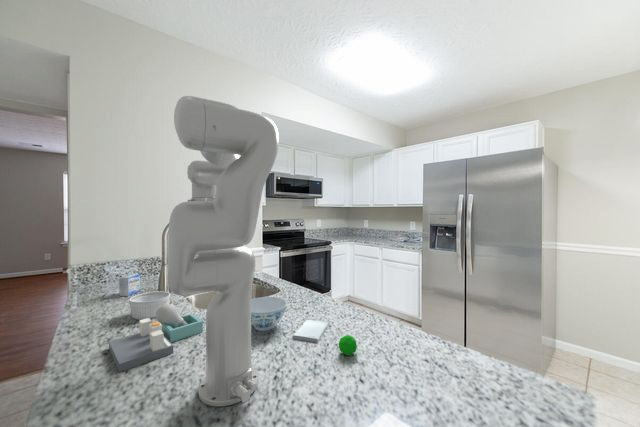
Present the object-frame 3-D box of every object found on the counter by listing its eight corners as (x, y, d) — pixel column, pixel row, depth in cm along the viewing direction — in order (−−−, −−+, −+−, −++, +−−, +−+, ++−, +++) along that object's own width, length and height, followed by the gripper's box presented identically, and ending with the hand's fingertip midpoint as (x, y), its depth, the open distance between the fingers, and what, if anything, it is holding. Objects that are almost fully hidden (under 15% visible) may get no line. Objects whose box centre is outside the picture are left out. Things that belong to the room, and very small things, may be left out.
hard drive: (317, 339, 77) (328, 322, 89) (292, 335, 80) (306, 319, 92) (317, 344, 77) (328, 326, 89) (292, 340, 80) (306, 323, 92)
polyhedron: (353, 348, 74) (353, 331, 74) (359, 357, 69) (359, 340, 69) (336, 349, 73) (336, 333, 73) (341, 359, 68) (341, 341, 68)
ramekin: (173, 306, 108) (173, 289, 108) (165, 318, 95) (165, 299, 95) (136, 310, 103) (136, 292, 103) (122, 323, 91) (122, 304, 91)
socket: (202, 331, 84) (202, 321, 84) (170, 342, 77) (170, 330, 77) (191, 323, 91) (191, 313, 91) (161, 332, 84) (160, 321, 84)
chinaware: (254, 315, 97) (254, 295, 97) (292, 319, 94) (292, 298, 94) (233, 334, 83) (232, 310, 83) (277, 339, 79) (277, 314, 79)
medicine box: (128, 296, 120) (128, 277, 120) (118, 296, 120) (118, 277, 120) (140, 291, 128) (140, 273, 128) (131, 291, 128) (131, 273, 128)
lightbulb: (186, 329, 81) (157, 308, 79) (176, 340, 83) (147, 319, 81) (196, 316, 87) (169, 296, 85) (186, 327, 89) (159, 307, 87)
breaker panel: (173, 352, 72) (173, 331, 72) (119, 372, 63) (119, 347, 63) (156, 334, 83) (156, 315, 83) (108, 348, 74) (108, 327, 74)
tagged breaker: (162, 338, 76) (161, 323, 76) (152, 341, 74) (152, 326, 74) (159, 335, 78) (158, 320, 78) (149, 338, 76) (149, 323, 76)
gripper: (181, 202, 77) (181, 260, 76) (234, 203, 90) (234, 253, 89) (171, 203, 82) (172, 257, 81) (223, 204, 95) (223, 251, 94)
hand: (205, 255), depth 85 cm, fingers open, 9 cm apart
